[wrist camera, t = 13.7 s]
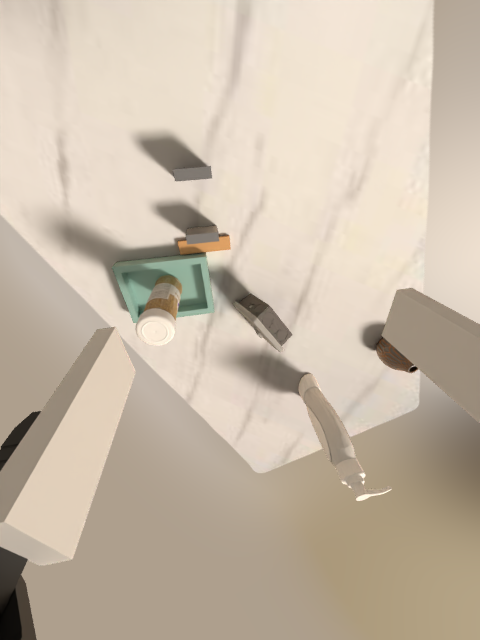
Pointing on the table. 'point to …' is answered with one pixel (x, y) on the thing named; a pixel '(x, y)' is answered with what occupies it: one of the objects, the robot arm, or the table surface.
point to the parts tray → (144, 273)
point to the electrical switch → (264, 321)
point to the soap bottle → (334, 438)
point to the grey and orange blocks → (200, 236)
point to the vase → (394, 357)
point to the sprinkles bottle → (160, 312)
